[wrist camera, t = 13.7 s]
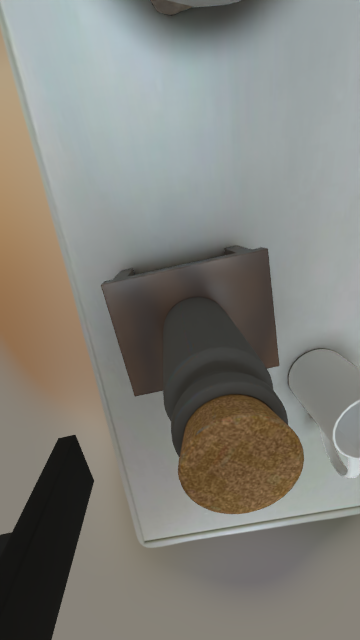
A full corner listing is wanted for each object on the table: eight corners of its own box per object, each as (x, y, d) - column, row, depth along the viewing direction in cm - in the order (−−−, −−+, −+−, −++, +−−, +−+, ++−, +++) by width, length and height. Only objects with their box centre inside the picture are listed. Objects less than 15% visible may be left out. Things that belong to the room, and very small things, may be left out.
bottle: (195, 370, 26) (235, 547, 11) (149, 329, 24) (129, 475, 10) (242, 327, 25) (351, 463, 10) (197, 282, 23) (251, 368, 9)
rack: (141, 355, 35) (134, 396, 26) (117, 269, 31) (100, 284, 23) (250, 331, 35) (279, 366, 26) (239, 242, 31) (267, 248, 22)
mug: (291, 348, 36) (340, 395, 26) (350, 347, 36) (421, 392, 26) (280, 426, 40) (320, 493, 30) (334, 423, 40) (390, 489, 30)
